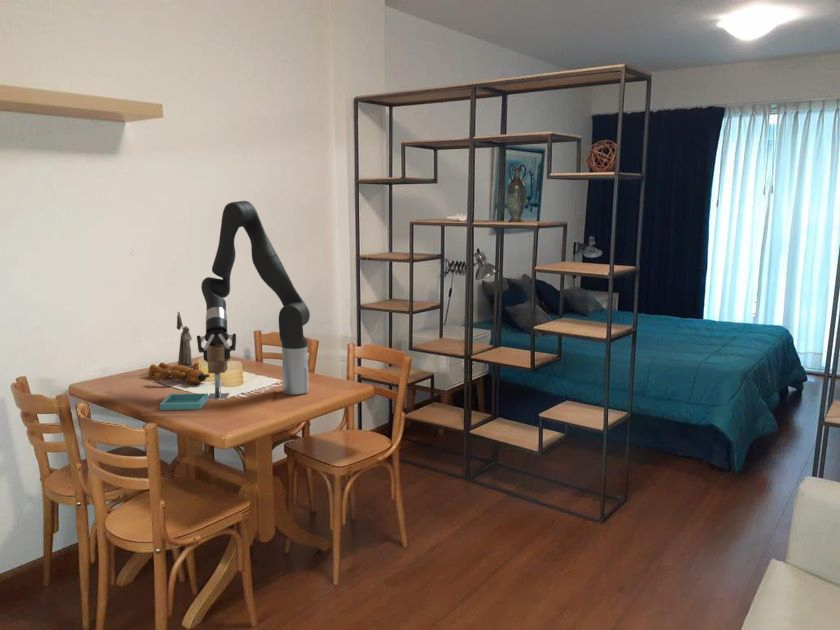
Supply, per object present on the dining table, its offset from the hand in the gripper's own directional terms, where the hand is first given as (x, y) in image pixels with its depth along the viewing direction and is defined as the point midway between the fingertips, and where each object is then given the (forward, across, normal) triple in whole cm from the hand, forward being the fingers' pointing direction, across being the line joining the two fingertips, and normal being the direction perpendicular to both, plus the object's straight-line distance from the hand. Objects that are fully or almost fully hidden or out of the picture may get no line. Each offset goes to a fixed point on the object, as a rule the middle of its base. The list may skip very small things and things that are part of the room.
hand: (217, 360), depth 231 cm
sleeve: (+2, 0, +4) cm, 5 cm away
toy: (-11, -16, +30) cm, 36 cm away
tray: (+15, -11, +5) cm, 19 cm away
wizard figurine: (-24, -16, +44) cm, 52 cm away
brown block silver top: (+9, 0, +11) cm, 14 cm away
